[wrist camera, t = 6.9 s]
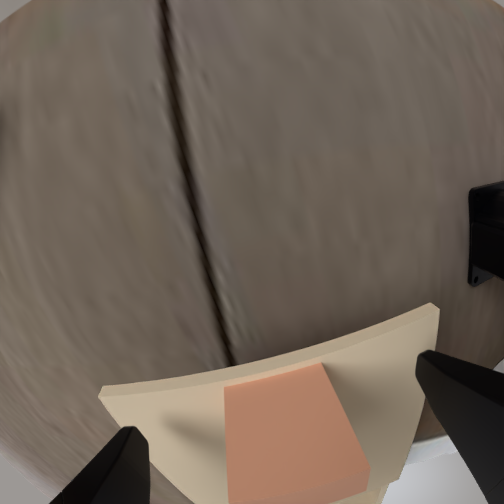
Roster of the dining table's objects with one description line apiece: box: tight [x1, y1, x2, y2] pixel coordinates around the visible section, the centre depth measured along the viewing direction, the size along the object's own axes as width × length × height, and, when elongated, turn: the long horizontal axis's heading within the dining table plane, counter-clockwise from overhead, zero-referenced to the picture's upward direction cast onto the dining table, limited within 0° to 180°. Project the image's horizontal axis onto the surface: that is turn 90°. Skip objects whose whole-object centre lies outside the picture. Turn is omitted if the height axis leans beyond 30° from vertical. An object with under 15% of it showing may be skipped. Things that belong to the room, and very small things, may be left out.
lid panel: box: [98, 302, 440, 504], centre depth 8 cm, size 12×14×5 cm
